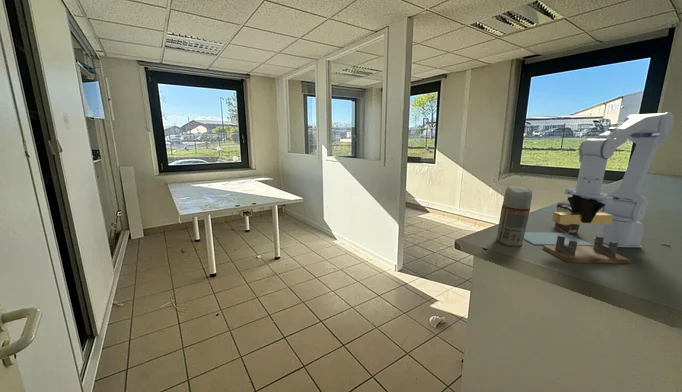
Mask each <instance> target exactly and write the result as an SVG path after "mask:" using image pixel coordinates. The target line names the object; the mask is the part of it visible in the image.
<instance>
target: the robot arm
mask: <svg viewBox="0 0 682 392" xmlns="http://www.w3.org/2000/svg"><path fill="white" fill-rule="evenodd" d="M674 126H675V116H674V114H673V113H672V112H669V111H667V112H660V113H656V112H655V113H642V114H641V113H640V114H639V113H638V114H633V113H632V114H629V115H627V116H625V118H624V120H623V124H621V125H620V126H619V127H617V126H614V127H613V126H610V127H609V128H607V130H605V131H603V132H602V133H600V134H598V135H597V136H596V137H594V138H588V139H585V140H583V141H582V142H581V143H580V145H579V147H578V155H579V157H578V158H579V160H578V161H579V163H580V164H579V165H580V166H579V172H578V177H577V181H576V186H575V188H573V187H568V188H567V187H566V188H565V190H564V195H570V196H567V201H568V204H570V205H571V209H572V212H583V216H582V222H583V223H591V222H592V220H593V218H594V217H595V215H596V214H597V213H599V211H600V213H607V214H611V215H613V219H612V223H611V225H610V224H603V229H602V232H601V236H602V237H604V240H603V244H606V245H608V246H609V243H610V242H617V243H618V247H617V248H643V246H642V245H641V243H642V238H643V234H644V225H643V223H642V222H641V221H642V220H643V219H644V218H645V217H646V215H647V211H648V205H649V200H648V199H647V198H646V197H645V196H644V195H643V194H641V190H642V187H643V186H644V185H643V184H644V182H645V180H646V177H647V175H648V172H649V169H650V168H651V164H652V162H653V160H654V159H655V158H654V157H655V154H656V152H657V151H658V148H659V146H660V144H661V143H664V142H667V141H668V139H669V138H670V135H671V132H672V131H673V128H674ZM627 141H629V142H632V143H635V148H634V150H633V153H632V156H631V158H630V160H629V163H628V165H627V168H626V170H625V172H624V176H623V177H622V180H621V183H620V185H619V188H618V189H616V190H614V191H611V192H608V193H607V194H606V195H605V194H603V193H601V191H602V187H603V186H602V185H603V182H604V178H605V172H606V168H607V163H608V159H610V158H612V156H613V155H614V154H615V152H616V151H617V149H618V148H619V147H620V146H622V145H623V144H625V143H626V142H627ZM595 238H596V236H595V237H593V240H595Z"/></svg>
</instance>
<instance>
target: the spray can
mask: <svg viewBox="0 0 682 392" xmlns="http://www.w3.org/2000/svg"><path fill="white" fill-rule="evenodd" d="M503 196H504V197H503V203H502V205H501V210H500V216H499V222H498V227H497V235H496V236H497V237H496V239H495V240H496V241H497V242H498V243H501V244H503V245H506V246H510V247H522V246H523V242H524V235H525V232H526V230H527V224H528V221H529V217H530V216H529V215H530V211H531V205H532V199H533V189H531V188H528V187H526V186H523V185H508V186H507V187H506V189H505V192H504V195H503Z"/></svg>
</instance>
